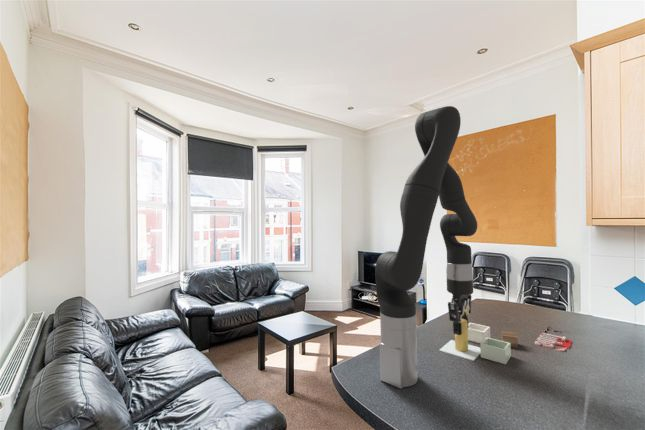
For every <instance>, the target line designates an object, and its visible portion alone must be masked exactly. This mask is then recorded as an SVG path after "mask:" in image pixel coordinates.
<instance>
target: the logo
mask: <svg viewBox="0 0 645 430" xmlns="http://www.w3.org/2000/svg"><path fill="white" fill-rule="evenodd" d="M548 327H549V328H550V326H549V325H547V327H546V328H545V329H544V330H543V332H541V333H540V334H539V336H538V337H537V338H536V340H537V341H536V340H534V345H536V346H539V347H540V346H541V345H542V347H543V348H547V349H554V348H555V347H557V349H554V352H555V351H556V352H560V353H562V352H566V350H567V349H568V350H569V349H570V347H571V345H572V343H573V342H572V340H571V339H568V338H567V337H566V336H563V335H562V336H558V335H554V334H550V333H547V332H546V333H545V331H548V330H549V328H548ZM547 329H548V330H547ZM553 331H554V333H557V332H559V334H561V333H562V330H560V331H559V330H554V329H552V330H551V332H553ZM566 340H567V341H566ZM565 342H566V343H565Z"/></svg>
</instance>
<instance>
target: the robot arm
mask: <svg viewBox="0 0 645 430" xmlns="http://www.w3.org/2000/svg"><path fill="white" fill-rule="evenodd" d="M460 129H461V113H460V112H459V110H458V108H456V107H455V106H452V105H447V106H443V107H442V106H441V107H439V108H435V109H432V110H428V111H425V112H423V113H419V115H418V116H417V117H416V119H415V122H414V133H415V136H416V139H417V141H418V143H419V146H420V148H421V151H422V153H423V156H424V157H423V159H422V160H421V161H419V163H418V165H416V167H414V169H413V170H412V172H410V174H409V175H408V177H407V179H406V182H405V183H404V187H403V190H402V194H401V197H400V203H399V204H400V205H399V211H400V217H401V223H402V233H401V240H400V242H399V245H398V249H397V251H393V250H392V251H385V252H383V253H382V254H380V255H379V256H378V258H377V260H376V263H375V269H374V270H375V271H374V275H375V288H376V289H375V290H376V291H375V293H376V298H377V299H376V300H377V303H378V304H379V314H380V315H379V317H380V320H379V321H380V343H379V377H380V381H382V382H384V383H386V384H389V385H391V386H393V387H396V388H398V389H400V390H402V389H403V388H407V387H412V386H414V385H416V384H417V382H418V376H419V375H418V349H417V348H418V345H417V344H418V343H417V342H418V341H417V312H416V311H417V309H416V307H417V305H416V303H415V301H414V300H413V299H412V297H410V295H409V293H408V291H410V290H412V289H413V288H415V287H416V286H417V284H418V283H419V282H420V281H419V280H420V278H421V276H422V271H423V266H424V260H425V254H426V246H427V241H428V237H429V233H430V229H431V225H432V219H433V216H434V212H435V209H436V207H437V203H438V199H439V203H440V206H441V208H442V209H444V210H446V211H450V212H453V213H447V214H444V215H443V216H442V217H441V219H440V222H439V229H440V232H441V235H442V237H443V241H444V244H445V249H446V291H447V293H450V294H452V298H451V300H450V301H447V308H448V317H449V321H451V322H453V323H452V325H453V326H452V328H453V329H452V330H453V331H452V332H453V334H454V335H455V334H457V335H461V334H462V326H461V322H462V319H465V320H467V327H468V324H469V317H470V315H471V314H472V294H473V293H474V273H473V272H474V271H473V265H472V264H473V263H472V248H471V245H469V244H466V243H463V242H460V241H458V239H457V237H472V236H473V235H475V234H476V232H477V230H478V221H477V218H476V216H475V214H474V212H473V211H472V209H471V207H470V205H469V203H468V202H467V200H466V196H465V191H464V187H463V184H462V179H461V178H460V176H459V174H458V173H457V172H456V170H455V169H454V168H453V167H452V165H451V164H450V163H449V160H450V157H451V154H452V152H453V150H454V146H455V144H456V142H457V138H458V136H459V133H460Z"/></svg>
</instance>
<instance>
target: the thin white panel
mask: <svg viewBox="0 0 645 430" xmlns="http://www.w3.org/2000/svg"><path fill="white" fill-rule="evenodd" d="M439 352H443V353H445V354H449V355H452V356H455V357H458V358H461V359H465V360H468V361H472V362H474V361H475V360H476V359H477V358H478V357H479V356H481V349H480V347H479V346H476V345H473V344H469V343H468V351H467V352H461V351H458V350H456V349H455V339H450V340H449V341H448V342H447V343H446V344H445V345H443V346H442V347H441V348H439Z"/></svg>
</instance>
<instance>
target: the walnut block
mask: <svg viewBox="0 0 645 430" xmlns="http://www.w3.org/2000/svg"><path fill="white" fill-rule="evenodd" d="M500 337H501V338H500V341H504V342H509V343H511V348H515V349H518V348H519V345H518V342H519V341H518V336H517V333H516V332H511V331H503V330H501V331H500Z"/></svg>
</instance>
